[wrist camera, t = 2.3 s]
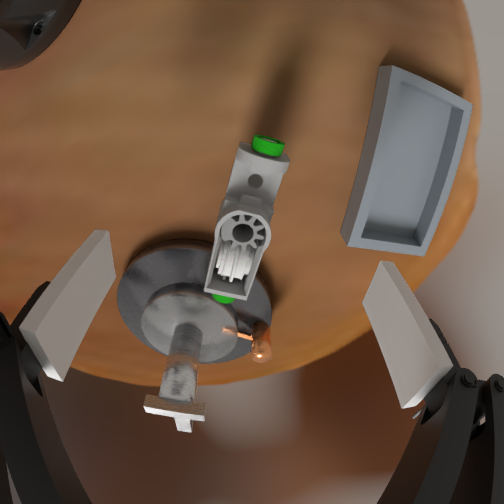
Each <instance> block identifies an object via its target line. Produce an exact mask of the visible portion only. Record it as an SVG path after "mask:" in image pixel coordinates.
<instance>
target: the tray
mask: <svg viewBox="0 0 504 504" xmlns="http://www.w3.org/2000/svg"><path fill="white" fill-rule="evenodd" d="M472 106H473V104H471V103H469V102H468V101H466V100H464V99H463V98H461V97H459V96H457V95H455V94H454V93H452V92H450V91H448V90H446V89H444V88H442V87H440V86H438V85H436V84H434V83H432V82H430V81H428V80H426V79H424V78H422V77H419V76H417V75H415V74H413V73H410V72H408V71H406V70H403V69H401V68H398V67H396V66H393V65H387V66H379V70H378V76H377V82H376V87H375V93H374V98H373V103H372V108H371V113H370V118H369V123H368V127H367V132H366V136H365V141H364V145H363V149H362V154H361V158H360V162H359V166H358V170H357V174H356V178H355V181H354V185H353V189H352V193H351V196H350V200H349V204H348V207H347V211H346V214H345V217H344V221H343V224H342V228H341V231H340V233H341V235H342V237H343V239H344V241H345V243H346V245H347V246H349V247H357V248H365V249H373V250H380V251H388V252H395V253H403V254H410V255H418V256H425V253H426V251H427V249H428V247H429V244H430V242H431V240H432V237H433V235H434V233H435V230H436V228H437V225H438V223H439V220H440V218H441V215H442V212H443V210H444V207H445V204H446V201H447V199H448V196H449V193H450V190H451V187H452V184H453V181H454V178H455V174H456V171H457V168H458V164H459V161H460V157H461V154H462V150H463V146H464V142H465V138H466V134H467V130H468V125H469V121H470V116H471V111H472Z"/></svg>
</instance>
